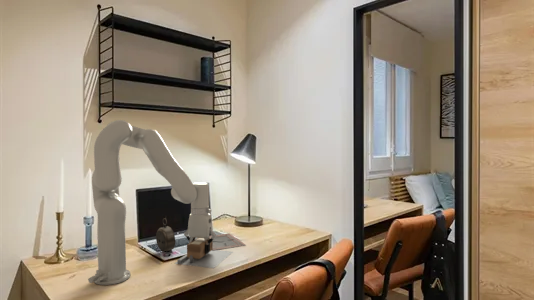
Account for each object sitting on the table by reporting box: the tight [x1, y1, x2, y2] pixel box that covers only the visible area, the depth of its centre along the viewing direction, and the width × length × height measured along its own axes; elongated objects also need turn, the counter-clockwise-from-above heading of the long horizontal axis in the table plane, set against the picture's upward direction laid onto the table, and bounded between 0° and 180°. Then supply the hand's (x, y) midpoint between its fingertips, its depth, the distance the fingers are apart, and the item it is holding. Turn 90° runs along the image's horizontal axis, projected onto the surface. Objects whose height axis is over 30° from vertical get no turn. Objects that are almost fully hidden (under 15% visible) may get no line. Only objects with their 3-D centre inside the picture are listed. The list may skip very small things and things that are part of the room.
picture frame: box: [209, 233, 246, 251], centre depth 167 cm, size 16×2×22 cm
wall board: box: [174, 249, 233, 269], centre depth 145 cm, size 20×18×4 cm
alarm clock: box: [155, 217, 176, 252], centre depth 154 cm, size 11×5×16 cm, turn 45°
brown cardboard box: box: [186, 237, 213, 259], centre depth 146 cm, size 12×6×6 cm, turn 163°
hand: (200, 251), depth 146 cm, fingers closed on brown cardboard box, 6 cm apart
